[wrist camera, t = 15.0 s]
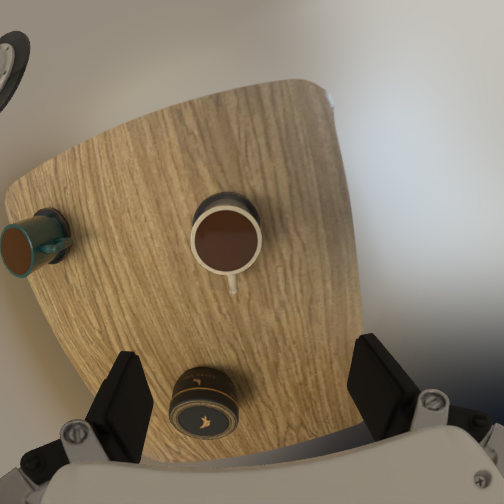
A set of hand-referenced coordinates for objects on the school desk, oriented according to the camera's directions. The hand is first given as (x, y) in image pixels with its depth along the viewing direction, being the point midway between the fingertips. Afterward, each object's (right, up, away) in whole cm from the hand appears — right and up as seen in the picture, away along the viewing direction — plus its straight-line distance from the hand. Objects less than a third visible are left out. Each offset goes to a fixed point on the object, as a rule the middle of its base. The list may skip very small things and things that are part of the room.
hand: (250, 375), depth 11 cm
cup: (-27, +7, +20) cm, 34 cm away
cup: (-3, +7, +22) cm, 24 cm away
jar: (-7, -16, +29) cm, 34 cm away
